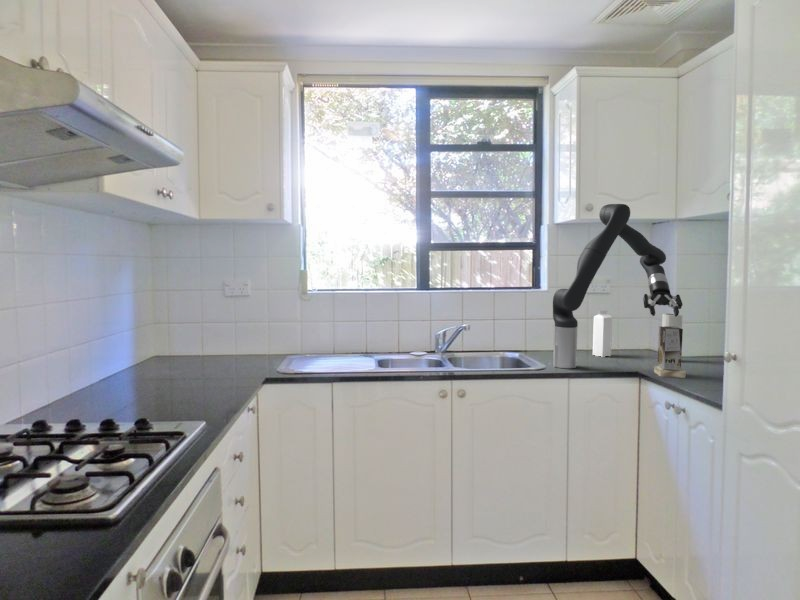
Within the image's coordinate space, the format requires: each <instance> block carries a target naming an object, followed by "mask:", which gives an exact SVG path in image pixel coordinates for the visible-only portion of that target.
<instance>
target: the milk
mask: <svg viewBox="0 0 800 600" xmlns="http://www.w3.org/2000/svg"><path fill="white" fill-rule="evenodd" d="M592 322H593V328H592V329H593V330H592V356H593V355H595V356H594V357H598V356H601V357H600V358H606V357H605V356H609V357H612V342H613V341H612V335H613V334H612V333H613V316H612V315H610V313H608V310H607V309H601V310H600V309H599V310H598V313H597V314H596V315H594V316H593V321H592Z"/></svg>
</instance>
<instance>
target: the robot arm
mask: <svg viewBox="0 0 800 600" xmlns="http://www.w3.org/2000/svg"><path fill="white" fill-rule="evenodd" d="M598 214H599V220H600V221H601V223H602V224H603V225H605V227H604V229H603V230H602V231H601V232H599V234H598V235H596V236H595V237H594V238H592V239H591V240H590V241H589V242H588V243H587V244H586V245H585V246H584V248H583V250H582V251H581V253H580V255H579V258H578V260H577V265H576V275H575V277H574V280H573V281H572V282H571V284H570V285H569V287H568V288H559V289H557V290H556V291H555V293H554V294H553V298H552V319H553V321H554V337H553V338H554V341H553V359H552V360H553V363H552V365H553V367H554V368H559V369H575V368H577V364H578V363H577V356H578V353H577V352H578V328H579V327H578V326H579V325H578V324H579V323H578V320H577V319H576V317H575V316H574V314H573V313H574V312H575V311H577V310H578V309H580V307H581V305H582V303H584V302H583V301H584V299H585V297H586V294H587V292H588V290H589V287H590V285H591V284H592V282H593V280H594V278H595V276H596V275H597V273H598V271H599V269H600V267H601V266H602V264H603V262H604V260H605V259H606V257H607V254H608V252H609V251H610V249H611V247H612V246H613V244H614V243H615V241H616V239H617V238H618V236H619V238H621V239H622V240H623V241H624V242H625V243H626V244H627V245H628V246H629V247H630V248H631V250H633V252H635V254H636V255H638V256H640V258H639V265H641V267H642V268H643V269H644V271H645V273H646V276H647V280H648V281H647V282H648V283H647V284H648V289H649V293H650V295H648V294H647V293H645V294H644V295H643V298H642V300H643V308H644V309H649V313H650V315H652V317H654V316H656V309H655V307H656V306H667V307H669V308H671V309H673V310H672V311H673V314H674V315H675V316H676V317H677V315H680V310H681V309H682V307H683V301H682V299H681V295H680V294H676V295H672V294H671V290H670V286H669V282H668V278H667V276H666V273H665V269H664V267H663V266H662V264H664V263H665V262H666V260H667V257H666V256H667V255H666V254H665V252H664V251H663V250H662V249H660V248H659V247H657V246H656V245H654V244H652V243H651V242H650V241H648V239H647V238H646V236H644V235H643V234H642V233H641V232H639V231H638V230H636V229H634V228H633V227H631V226H630V225H628V224H627V223H628V222H629V220H630V217H631V208H630V207H629V205H627V204H624V203H611V204H610V203H609V204H605V205H603V206H602V207H601V208H600V211H599V213H598ZM649 301H651V303H649Z"/></svg>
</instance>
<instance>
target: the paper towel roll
mask: <svg viewBox="0 0 800 600" xmlns="http://www.w3.org/2000/svg"><path fill="white" fill-rule="evenodd" d="M661 318H662V322H661V324H662V325H661V327H665V326H671V327H678V328H681V329H683V315H682V314H678V315H677V317H676V316H675V315H674V313H662V317H661Z"/></svg>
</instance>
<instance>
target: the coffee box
mask: <svg viewBox="0 0 800 600" xmlns="http://www.w3.org/2000/svg"><path fill="white" fill-rule="evenodd" d="M683 331H684V330H683V328H682V329H681V328H678V327H671V326H665V327H662V326H658V342H657V344H658V345H657V366H660V367H662V368H663V369H671V370H681V369H682V353H683V352H682V350H683V334H684V333H683Z"/></svg>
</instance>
